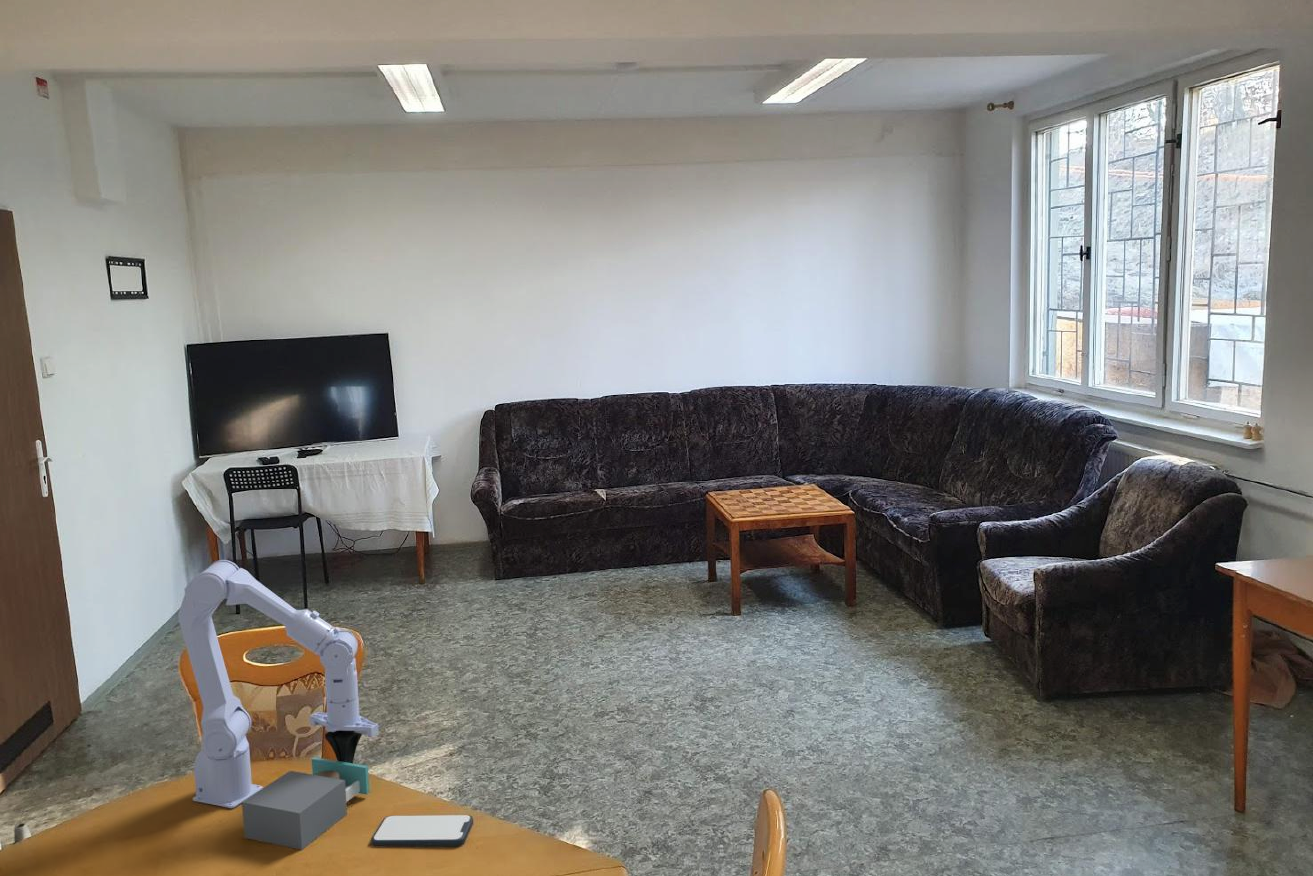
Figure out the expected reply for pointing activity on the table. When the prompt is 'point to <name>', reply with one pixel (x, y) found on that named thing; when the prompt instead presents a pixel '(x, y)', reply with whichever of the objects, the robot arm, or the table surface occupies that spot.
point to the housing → (294, 809)
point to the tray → (345, 775)
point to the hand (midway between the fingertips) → (346, 766)
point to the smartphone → (423, 831)
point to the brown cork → (329, 774)
